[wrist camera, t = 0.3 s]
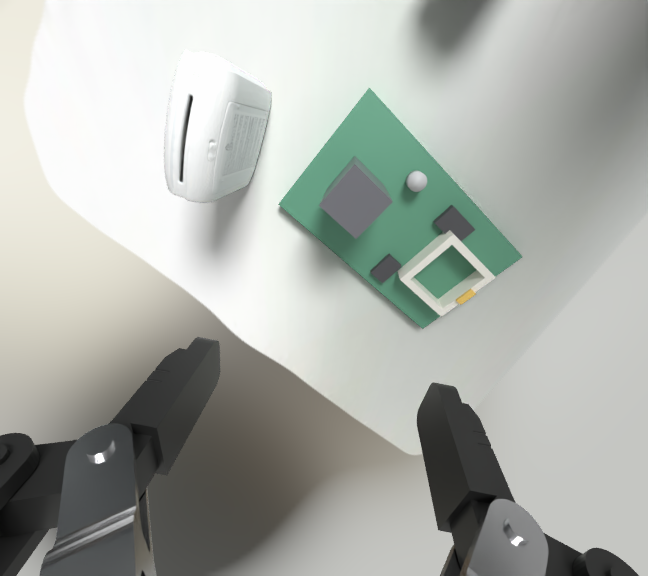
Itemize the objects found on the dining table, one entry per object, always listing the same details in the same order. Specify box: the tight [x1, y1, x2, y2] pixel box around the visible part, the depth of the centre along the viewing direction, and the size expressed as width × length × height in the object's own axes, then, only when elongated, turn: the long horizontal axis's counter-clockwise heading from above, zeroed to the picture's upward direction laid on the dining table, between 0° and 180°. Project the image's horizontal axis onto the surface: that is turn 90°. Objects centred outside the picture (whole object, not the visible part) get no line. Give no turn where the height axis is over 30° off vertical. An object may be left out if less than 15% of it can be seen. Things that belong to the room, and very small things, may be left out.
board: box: [278, 88, 522, 329], centre depth 32 cm, size 14×24×3 cm, turn 49°
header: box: [397, 230, 496, 317], centre depth 33 cm, size 7×7×2 cm
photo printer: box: [164, 50, 272, 203], centre depth 25 cm, size 10×4×12 cm, turn 158°
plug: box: [319, 156, 393, 239], centre depth 27 cm, size 4×4×8 cm
